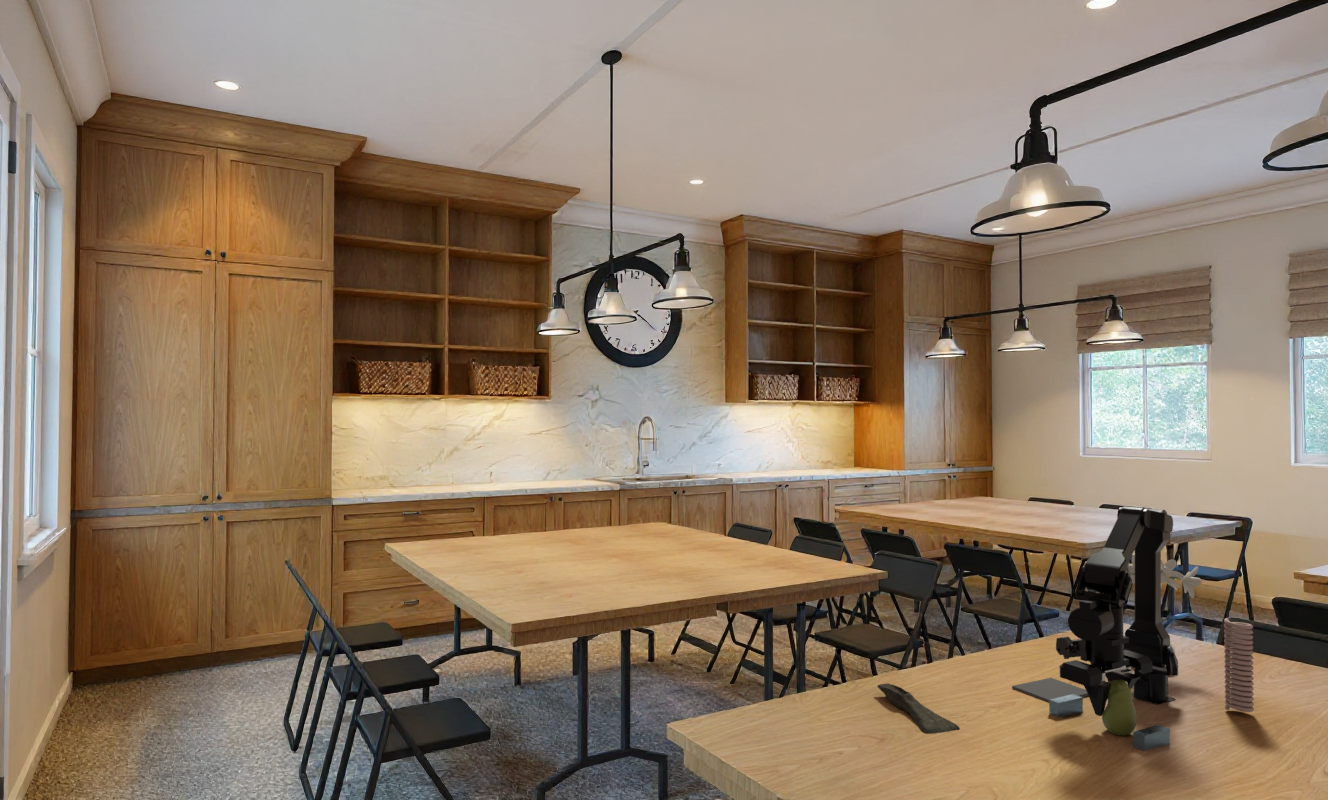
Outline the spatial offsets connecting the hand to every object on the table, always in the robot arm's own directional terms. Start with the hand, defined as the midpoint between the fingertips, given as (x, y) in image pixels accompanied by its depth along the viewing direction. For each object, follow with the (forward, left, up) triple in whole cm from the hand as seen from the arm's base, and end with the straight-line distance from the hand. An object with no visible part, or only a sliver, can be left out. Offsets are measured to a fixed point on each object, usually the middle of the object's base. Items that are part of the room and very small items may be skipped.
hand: (1106, 713), depth 147 cm
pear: (0, +2, -3) cm, 4 cm away
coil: (-32, +6, -3) cm, 32 cm away
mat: (-8, -18, -3) cm, 20 cm away
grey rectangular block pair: (0, 0, -3) cm, 3 cm away
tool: (+25, -22, -4) cm, 34 cm away
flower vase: (-47, -21, -3) cm, 51 cm away
